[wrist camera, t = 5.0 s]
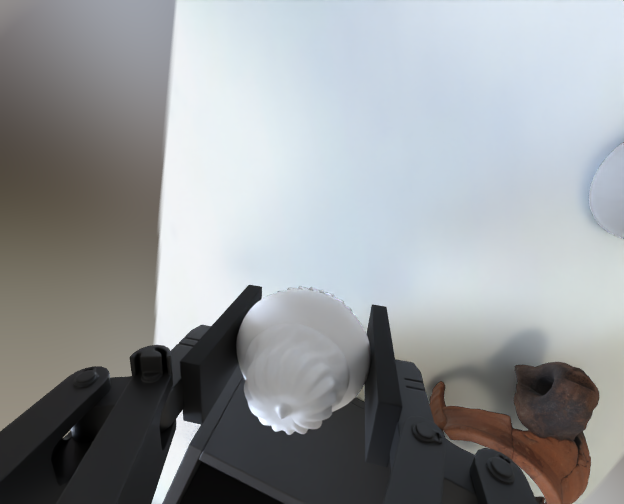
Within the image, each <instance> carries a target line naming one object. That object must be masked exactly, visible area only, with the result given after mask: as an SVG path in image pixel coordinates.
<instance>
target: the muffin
mask: <svg viewBox="0 0 624 504" xmlns="http://www.w3.org/2000/svg"><path fill="white" fill-rule="evenodd" d="M236 350H237V358H238V362H239V366H240V369H241V371H242V374H243V376H244V378H245V380H246V381H245V384H244V393H245V397H246V399H247V401H248V406H249V408H250V410H251V412H252V413H253V414H254V415H255V416H257V417H258V419H259V421H260V422H261V423H262V424H263V425H269V426H271V427H272V429H273V430H274V431H275V432H278V431H281V430H283V431H285V432H286V433H287V434H288V435H291V434H292V433H293V432H295V431H296V432H298V433H300V434H305V433H306V432H307V431H308V429H318V428H319V427H320V426H321V424H322V420H325V419H327V418H329V417H330V416H331V415H332V412H334V411H336V410H338V409H340V408H342V407H344V406H345V405H347V404H348V403H349V402H350V401H352V400H353V399H354V398H355V397H356V396H357V394H358V393H359V392H360V390H361V389H362V387H363V385H364V383H365V381H366V379H367V376H368V373H369V369H370V362H371V350H370V344H369V340H368V337H367V334H366V332H365V330H364V328H363V326H362V324H361V323H360V321H359V320H358V319H357V317H356V316H355V315H354V314H353V313H352V310H351V309H350V308H348V307H347V306H345V305H344V302H343V301H342V300H340V299H337V298H336V297H335V296H334V295H333V294H330V293H324V291H323V290H320V291H318V290H317V289H315V288H312V287H310V288H306V287H298V288H288V289H287V291H278V292H277V293H274V294H271V295H269V296H266V297H265V298H263V299H261V300H260V301H258V302H257V303H256V304H255V305H254V306H253V307H252V308H251V309H250V310H249V312H248V313H247V314H246V316H245V318H244V319H243V322H242V324H241V326H240V329H239V332H238V335H237V341H236Z"/></svg>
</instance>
